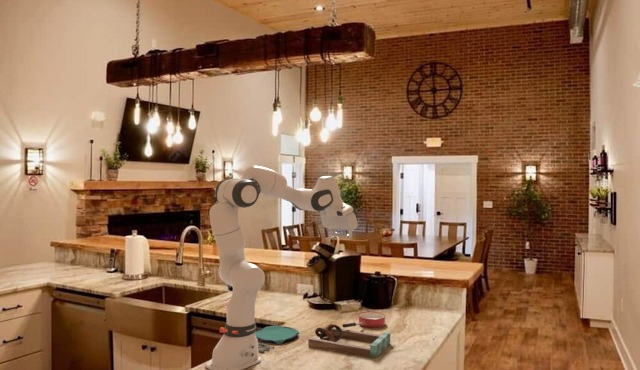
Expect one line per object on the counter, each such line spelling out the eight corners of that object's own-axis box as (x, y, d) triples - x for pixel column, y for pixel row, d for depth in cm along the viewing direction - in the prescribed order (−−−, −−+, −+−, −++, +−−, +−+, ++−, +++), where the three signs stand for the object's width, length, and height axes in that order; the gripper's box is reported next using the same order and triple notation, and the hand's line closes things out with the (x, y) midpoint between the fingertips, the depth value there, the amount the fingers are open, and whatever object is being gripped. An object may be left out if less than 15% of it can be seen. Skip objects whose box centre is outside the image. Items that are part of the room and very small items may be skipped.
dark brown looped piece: (337, 337, 226) (343, 324, 223) (338, 353, 218) (344, 339, 214) (312, 331, 224) (317, 318, 221) (312, 347, 216) (318, 334, 212)
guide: (375, 358, 200) (375, 346, 200) (308, 345, 213) (308, 334, 213) (390, 343, 217) (390, 332, 217) (327, 333, 230) (327, 322, 230)
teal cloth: (306, 334, 228) (306, 329, 228) (266, 356, 203) (266, 350, 203) (271, 327, 239) (271, 322, 238) (229, 347, 213) (229, 342, 213)
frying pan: (361, 341, 219) (361, 327, 219) (335, 336, 226) (335, 322, 226) (389, 322, 247) (389, 310, 247) (365, 318, 254) (365, 306, 253)
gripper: (314, 211, 232) (323, 238, 235) (346, 213, 217) (354, 241, 220) (324, 206, 236) (331, 232, 239) (355, 207, 221) (363, 235, 224)
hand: (343, 236), depth 230 cm, fingers open, 8 cm apart
